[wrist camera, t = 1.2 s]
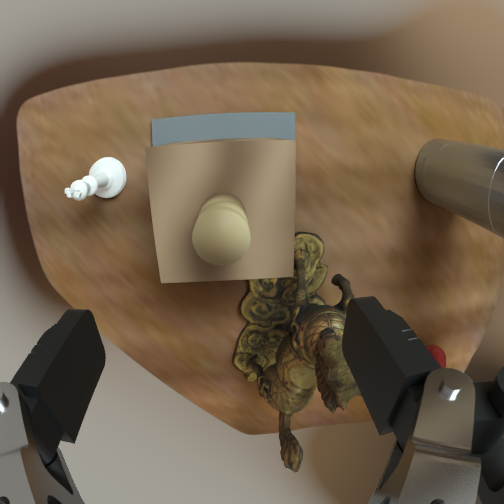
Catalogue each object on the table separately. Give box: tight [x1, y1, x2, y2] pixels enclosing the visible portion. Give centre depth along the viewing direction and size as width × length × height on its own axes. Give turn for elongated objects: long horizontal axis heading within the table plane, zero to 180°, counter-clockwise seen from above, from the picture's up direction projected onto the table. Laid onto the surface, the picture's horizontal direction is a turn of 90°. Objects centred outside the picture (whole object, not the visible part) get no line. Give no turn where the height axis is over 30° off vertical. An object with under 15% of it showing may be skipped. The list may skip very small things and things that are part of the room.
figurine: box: [233, 232, 362, 472], centre depth 32 cm, size 13×25×20 cm, turn 161°
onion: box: [425, 345, 446, 368], centre depth 43 cm, size 6×6×8 cm
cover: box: [146, 138, 296, 283], centre depth 25 cm, size 10×10×19 cm
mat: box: [151, 112, 296, 184], centre depth 34 cm, size 16×16×1 cm
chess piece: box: [65, 157, 126, 201], centre depth 28 cm, size 5×5×10 cm
